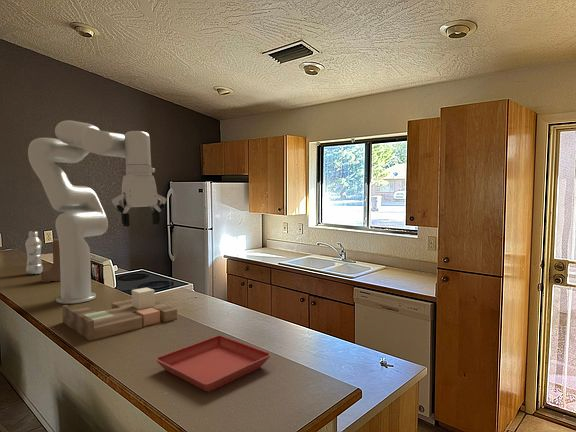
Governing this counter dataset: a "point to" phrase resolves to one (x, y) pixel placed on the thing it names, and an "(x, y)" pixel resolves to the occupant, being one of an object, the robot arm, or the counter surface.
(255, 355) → the plant saucer
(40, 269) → the plastic bottle
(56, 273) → the wooden block
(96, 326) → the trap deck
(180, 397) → the counter surface
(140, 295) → the cream cube
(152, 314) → the salmon block
